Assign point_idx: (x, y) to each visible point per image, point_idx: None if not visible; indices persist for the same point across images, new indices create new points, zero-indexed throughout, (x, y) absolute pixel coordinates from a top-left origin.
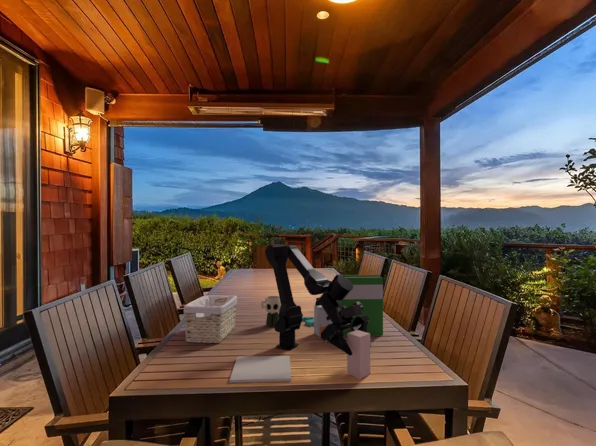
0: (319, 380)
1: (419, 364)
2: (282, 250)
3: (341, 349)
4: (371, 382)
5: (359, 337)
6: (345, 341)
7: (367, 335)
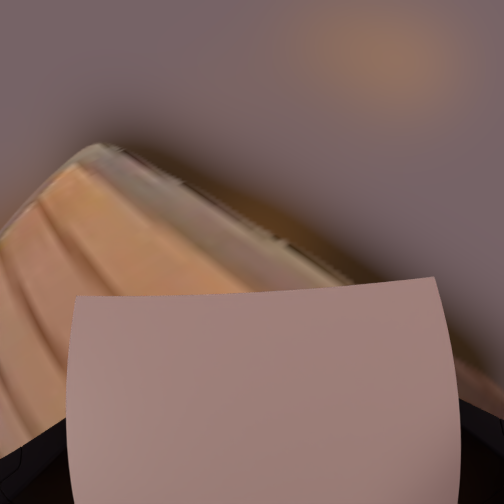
0: None
1: (10, 275)
2: None
3: None
4: None
5: (433, 298)
6: (498, 441)
7: (172, 305)
